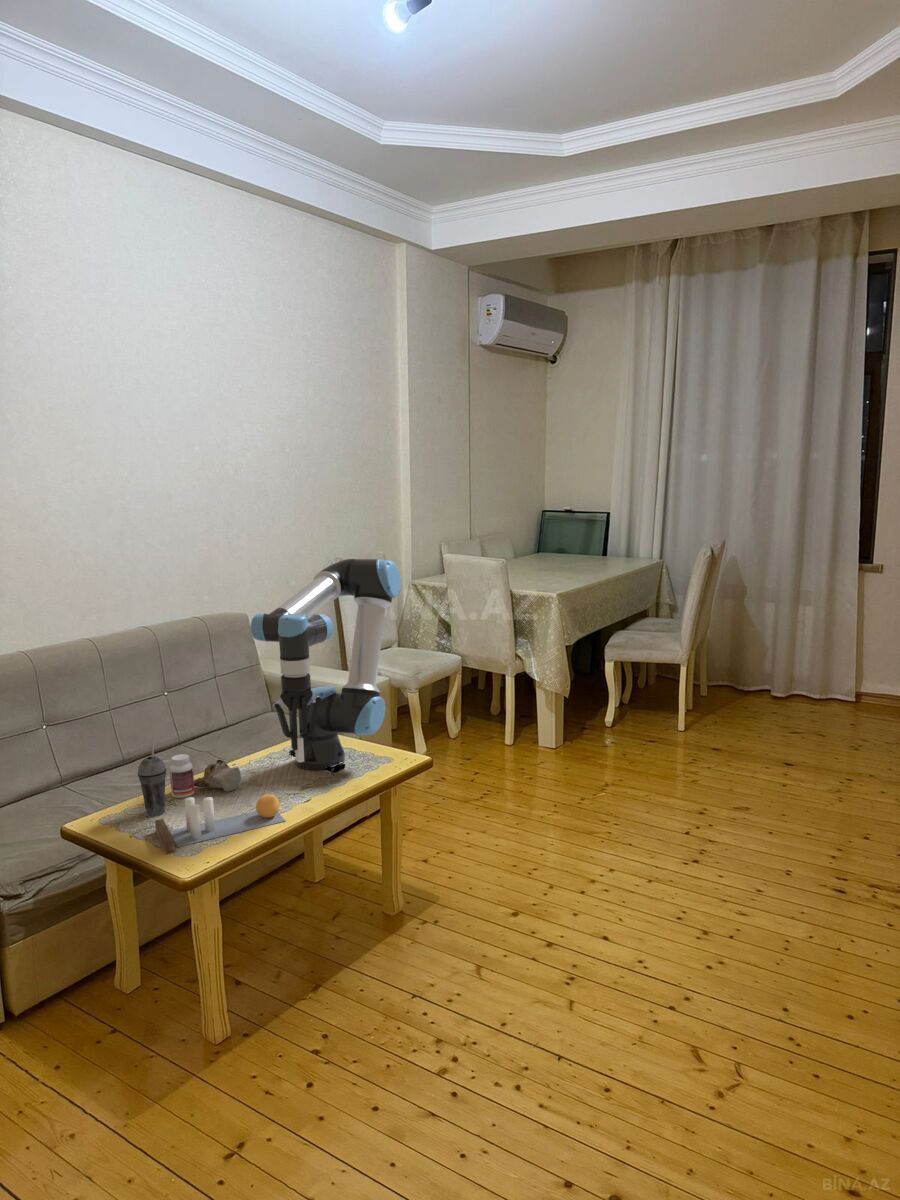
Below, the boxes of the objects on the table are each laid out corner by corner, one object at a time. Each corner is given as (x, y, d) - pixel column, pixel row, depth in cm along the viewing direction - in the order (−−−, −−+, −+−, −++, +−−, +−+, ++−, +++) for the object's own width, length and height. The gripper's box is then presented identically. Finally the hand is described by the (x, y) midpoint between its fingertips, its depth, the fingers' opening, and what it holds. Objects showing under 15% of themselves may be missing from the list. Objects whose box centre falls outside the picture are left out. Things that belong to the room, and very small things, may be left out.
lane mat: (273, 807, 215) (273, 807, 215) (285, 821, 206) (285, 820, 206) (169, 831, 202) (169, 831, 202) (177, 847, 193) (177, 846, 193)
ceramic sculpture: (223, 768, 221) (184, 763, 228) (226, 798, 222) (187, 792, 229) (249, 756, 230) (211, 751, 237) (253, 785, 231) (215, 779, 238)
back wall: (164, 829, 203) (163, 818, 203) (174, 851, 191) (173, 840, 191) (155, 831, 202) (154, 820, 202) (166, 853, 190) (165, 842, 190)
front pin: (214, 827, 204) (211, 796, 202) (216, 831, 201) (213, 799, 200) (204, 830, 202) (201, 798, 201) (206, 833, 200) (204, 801, 199)
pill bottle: (199, 793, 226) (196, 756, 224) (179, 800, 221) (176, 762, 219) (187, 788, 230) (184, 751, 228) (167, 795, 225) (164, 757, 223)
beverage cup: (135, 816, 211) (128, 744, 208) (154, 805, 218) (148, 735, 215) (156, 820, 209) (150, 747, 206) (175, 809, 215) (170, 738, 212)
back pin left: (200, 835, 199) (197, 803, 198) (202, 839, 197) (199, 806, 196) (190, 837, 198) (187, 805, 197) (192, 841, 196) (189, 808, 195)
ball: (276, 810, 213) (274, 789, 212) (283, 818, 208) (281, 796, 207) (253, 815, 210) (252, 794, 209) (260, 824, 205) (259, 801, 204)
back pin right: (195, 827, 204) (193, 796, 202) (197, 831, 202) (195, 799, 200) (186, 830, 203) (183, 798, 201) (188, 833, 201) (185, 801, 199)
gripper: (314, 667, 214) (318, 751, 218) (266, 674, 208) (271, 761, 211) (324, 673, 208) (328, 760, 211) (275, 680, 201) (280, 769, 205)
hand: (299, 760), depth 211 cm, fingers closed
